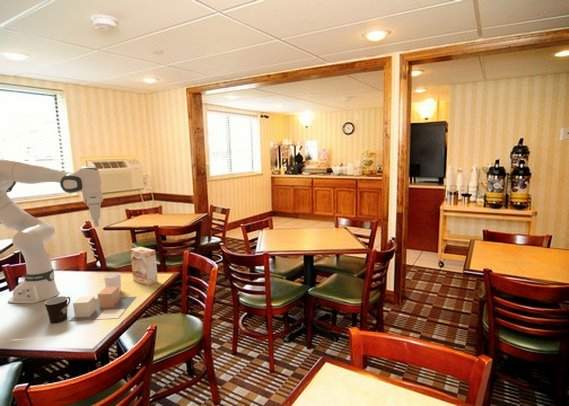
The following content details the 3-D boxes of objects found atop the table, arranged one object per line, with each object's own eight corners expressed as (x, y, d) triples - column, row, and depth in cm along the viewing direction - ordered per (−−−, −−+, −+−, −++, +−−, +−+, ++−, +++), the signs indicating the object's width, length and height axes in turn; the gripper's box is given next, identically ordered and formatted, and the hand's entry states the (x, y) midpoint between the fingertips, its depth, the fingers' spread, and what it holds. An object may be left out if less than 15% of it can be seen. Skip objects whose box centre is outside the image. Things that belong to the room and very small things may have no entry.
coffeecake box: (132, 280, 205) (129, 249, 202) (143, 276, 211) (140, 246, 208) (147, 285, 196) (144, 253, 193) (158, 281, 202) (155, 249, 199)
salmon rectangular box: (99, 307, 169) (97, 294, 167) (106, 300, 177) (105, 287, 176) (112, 307, 169) (111, 293, 168) (120, 299, 178) (118, 286, 177)
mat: (68, 322, 156) (68, 321, 156) (93, 299, 179) (93, 298, 179) (118, 319, 157) (118, 318, 157) (137, 297, 181) (137, 296, 181)
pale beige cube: (74, 317, 159) (72, 303, 158) (81, 310, 166) (80, 297, 165) (89, 316, 160) (87, 302, 159) (96, 310, 166) (94, 296, 165)
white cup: (124, 289, 191) (123, 272, 190) (116, 295, 183) (114, 278, 182) (111, 289, 192) (109, 272, 190) (102, 295, 184) (100, 277, 183)
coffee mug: (53, 327, 151) (50, 306, 150) (44, 322, 156) (41, 301, 154) (80, 316, 161) (77, 296, 160) (70, 312, 166) (68, 292, 164)
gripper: (85, 197, 182) (88, 222, 184) (86, 201, 164) (90, 229, 166) (99, 195, 185) (102, 221, 187) (101, 199, 167) (104, 227, 170)
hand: (96, 225), depth 177 cm, fingers open, 8 cm apart
